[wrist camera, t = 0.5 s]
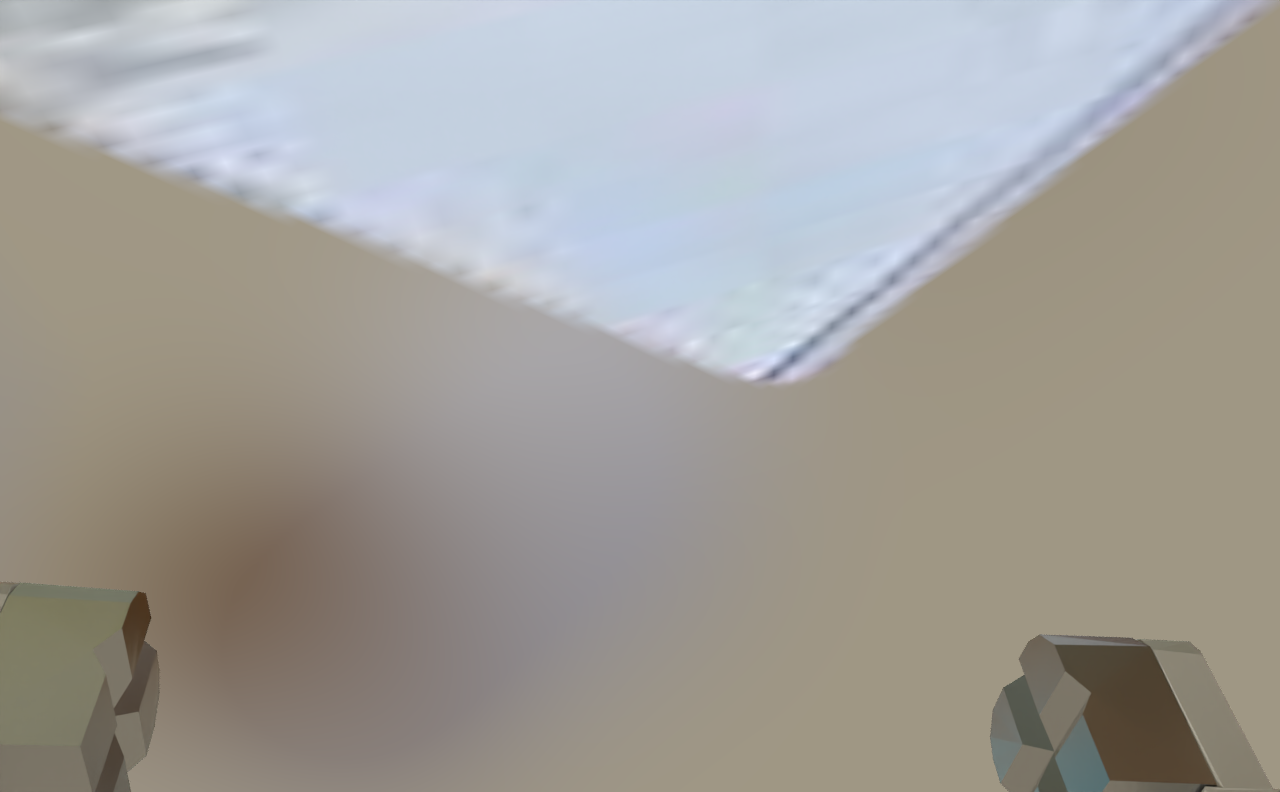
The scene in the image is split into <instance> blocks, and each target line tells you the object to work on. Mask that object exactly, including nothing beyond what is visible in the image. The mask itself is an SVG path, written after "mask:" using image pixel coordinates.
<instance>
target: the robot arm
mask: <svg viewBox="0 0 1280 792" xmlns="http://www.w3.org/2000/svg"><path fill="white" fill-rule="evenodd" d="M150 621H151V614H150V609H149V605H148V600H147V596H146V593H144V592H139V591H125V590H111V589H98V588H85V587H71V586H58V585H44V584H31V583H13V582H0V792H131V789H130V784H129V779H128V775H127V772H128V771H129V770H131V769H132V768H133V767H134V766H135V765H136V764H138V763H139V762H140V761H141V760H142V759H143V758H144V757H146V755H147V752H148V748H149V744H150V741H151V738H152V734H153V730H154V727H155V720H156V713H157V707H158V700H159V693H160V688H159V687H160V669H159V662H158V655H157V651H156V650H155V649H154V648H153V647H151V646H150V645H149V644H148V643H147V642H145V641H144V640H145V636H146V633H147V630H148V627H149V624H150ZM1019 661H1020V663H1021V666H1022V669H1023V672H1024V674H1025V675H1023V676H1022V677H1020V678H1018V679H1017V680H1015V681H1014V682H1012V683H1011V684H1009V685H1007V686H1005V687H1004V688H1003V689H1002V692H1001V694H1000V696H999V698H998V700H997V702H996V704H995V706H994V709H993V713H992V724H991V734H990V739H991V747H992V754H993V760H994V764H995V767H996V770H997V773H998V777H999V780H1000V783H1001V784H1002V785H1003V786H1004V787H1005V788H1006V789H1007V790H1008V791H1009V792H1280V789H1273V788H1272V786H1271V784H1270V782H1269V780H1268V778H1267V776H1266V774H1265V772H1264V771H1263V769H1262V767H1261V765H1260V763H1259V761H1258V759H1257V757H1256V755H1255V753H1254V751H1253V750H1252V748H1251V746H1250V744H1249V742H1248V740H1247V738H1246V736H1245V734H1244V733H1243V731H1242V729H1241V727H1240V725H1239V723H1238V721H1237V719H1236V717H1235V715H1234V713H1233V711H1232V710H1231V708H1230V706H1229V704H1228V702H1227V700H1226V698H1225V696H1224V694H1223V693H1222V691H1221V689H1220V687H1219V685H1218V683H1217V681H1216V679H1215V677H1214V675H1213V674H1212V671H1211V670H1210V668H1209V666H1208V664H1207V662H1206V660H1205V658H1204V656H1203V655H1202V653H1201V651H1200V650H1199V649H1197V648H1196V647H1195V646H1194V645H1193V644H1192V643H1191V642H1187V641H1167V640H1147V639H1146V640H1145V639H1138V640H1135V639H1133V638H1123V637H1122V638H1121V637H1095V636H1067V635H1038V636H1037V637H1035V638H1033V639H1032V640H1030V641H1029V642H1028V643H1027V645H1026V647H1025V649H1024V650H1023V652H1022V654H1021V656H1020V658H1019Z"/></svg>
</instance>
